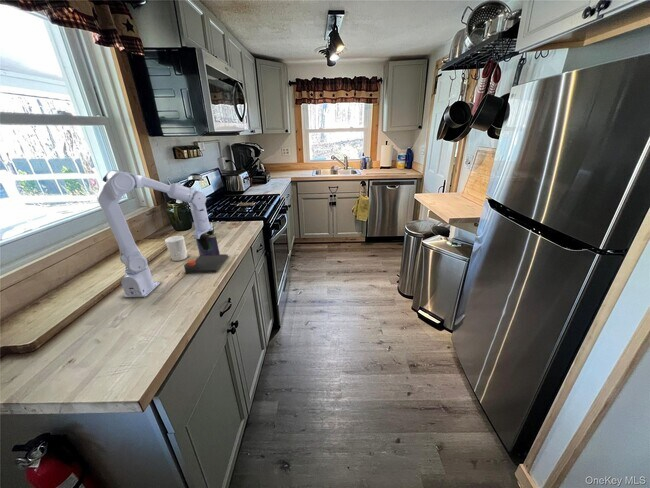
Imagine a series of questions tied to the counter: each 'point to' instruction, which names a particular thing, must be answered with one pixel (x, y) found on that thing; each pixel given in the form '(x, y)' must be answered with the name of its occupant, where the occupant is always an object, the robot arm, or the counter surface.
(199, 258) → the scale
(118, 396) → the counter surface
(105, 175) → the robot arm
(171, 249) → the white cup
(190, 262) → the tare button
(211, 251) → the dark blue flat block
